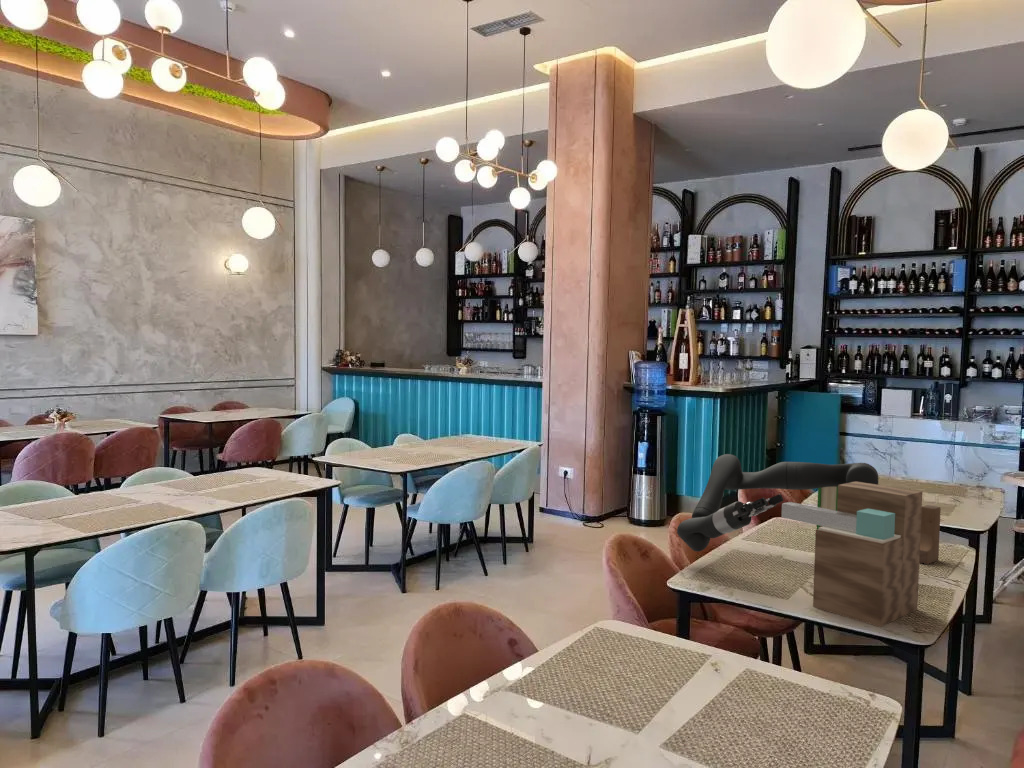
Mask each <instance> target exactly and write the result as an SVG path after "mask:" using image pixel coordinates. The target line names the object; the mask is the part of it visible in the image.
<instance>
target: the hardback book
mask: <svg viewBox="0 0 1024 768" xmlns="http://www.w3.org/2000/svg"><path fill="white" fill-rule="evenodd" d="M837 501H838V487H823V488H817V506H816V507H819V508H824V509H830V510H835V511H837ZM819 527H823V526H820V525H816V530H817V529H819Z"/></svg>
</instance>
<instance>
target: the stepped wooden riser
mask: <svg viewBox="0 0 1024 768" xmlns="http://www.w3.org/2000/svg"><path fill="white" fill-rule="evenodd" d="M922 506H923V491H921V490H914V489H908V488H902V487H894V486H888V485H882V484H878V485H876V484H870V483H863V482H857V481H855V482H850V483H845V484H840V485H838V501H837V511H840V512H846V513H851V514H856V515H857V511H860V510H864V509H868V508H869V509H874V510H880V511H885V512H891V513H895V530H894V537H891V538H887V539H884V540H882V539H877V538H872V537H868V536H863V535H858V534H856V533H853V532H848V531H844V530H839V529H834V528H829V527H824V526H823V527H819V529H817V528H816V529H815V541H814V545H815V546H814V568H813V571H814V572H813V596H812V597H813V599H812V607H813V608H817V609H820V610H824V611H827V612H830V613H834V614H837V615H839V616H843V617H846V618H849V619H853V620H856V621H859V622H863V623H865V624H866V623H867V624H870V625H872V626H876V627H879V628H881V627H883V626H885V625H888V624H890V623H892V622H894V621H896V620H898V619H900V618H902V617H905V616H907V615H910V614H911V613H913V612H915V611H917V610H918V603H919V602H918V600H919V583H920V581H919V578H920V576H919V575H920V563H919V559H920V536H921V513H922Z"/></svg>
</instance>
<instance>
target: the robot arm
mask: <svg viewBox="0 0 1024 768" xmlns="http://www.w3.org/2000/svg"><path fill="white" fill-rule="evenodd" d="M707 480H708V481H707V484H706V486H705V488H704V491H703V493H702V495H701V496H700V499H699V501H698V502H697V504H696V506H695V508H694V510H693V512H692V513H691V518H687V519H684V520H682V521H681V522H680V523H679V524H678V526H677V528H676V533H677V535H678V537H679V538H680V539H681V540H682V541H683V542H684V543H685V544H686V545H687V546H688V547H689V548H690V549H691V551H693V552H702V551H704V550H705V549H706V548H707V547H708V545H709V544H710V542H711V539H716V538H719V537H722V536H724V535H725V534H729V533H732V532H735V531H737V530H740V529H742V528H744V527H746V526H749V525H750V523H752V516H753V517H754V516H758V515H759V514H761V513H763V512H766V511H767V510H770V509H771V508H775V507H776V506H777V505H778V504H780V503H782V502H784V497H783V496H782V494H781V493H779V494H776V495H774V496H772V497H769V498H765V497H760V498H758V499H756V500H754V501H748V502H746V503H745V502H744V503H743V502H742V501H739V500H738V501H735V502H733V503H730V504H728V505H726V506H724V507H722V508H721V505H722V502H723V497H724V494H725V490H729V491H738V490H739V491H740V490H756V489H760V490H761V489H765V490H766V489H771V490H773V489H775V490H776V489H777V490H792V491H793V490H797V491H799V490H800V491H805V490H815V489H818V488H823V487H838V485H840V484H845V483H850V482H855V481H857V482H863V483H870V484H876V485H879V474H878V471H877V470H876V468H875V467H874V466H873V465H872V464H869V463H868V462H867V463H866V462H856V463H855V462H853V463H840V464H827V463H817V462H816V463H815V462H805V461H801V462H800V461H781V462H778V463H776V464H773V465H771V466H769V467H767V468H764V469H763V470H760V471H754V472H753V471H752V472H751V471H750V472H747V471H743V469H742V465H741V462H740V459H739V458H738V457H737V456H736V455H734V454H729V453H725V454H722V455H720V456H718V457H716V458H715V460H714V463H713V465H712V468H711V472H710V475H709V478H708V479H707Z"/></svg>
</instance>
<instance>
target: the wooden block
mask: <svg viewBox="0 0 1024 768" xmlns="http://www.w3.org/2000/svg"><path fill="white" fill-rule="evenodd" d="M941 510H942V509H941V507H940V506H937V505H936V506H935V505H929V504H926V505H922V513H921V536H920V559H919V564H922V563H924V564H923V565H926V564H927V565H929V563H930V564H932V563H934V562H937V561H939V555H940V554H939V553H940V535H941V534H940V531H941V530H940V529H941Z"/></svg>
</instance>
